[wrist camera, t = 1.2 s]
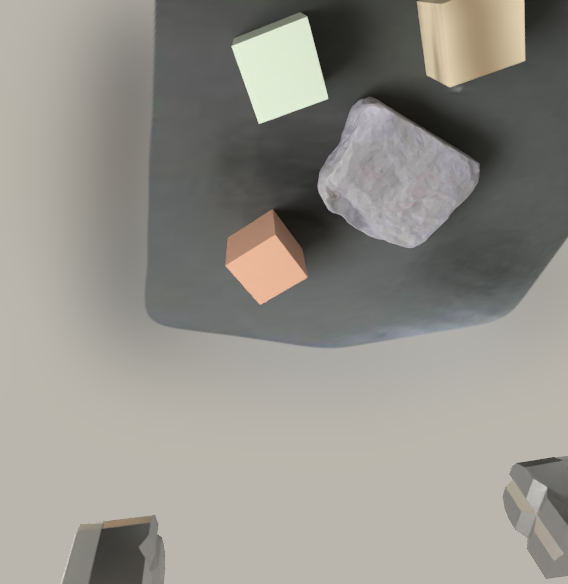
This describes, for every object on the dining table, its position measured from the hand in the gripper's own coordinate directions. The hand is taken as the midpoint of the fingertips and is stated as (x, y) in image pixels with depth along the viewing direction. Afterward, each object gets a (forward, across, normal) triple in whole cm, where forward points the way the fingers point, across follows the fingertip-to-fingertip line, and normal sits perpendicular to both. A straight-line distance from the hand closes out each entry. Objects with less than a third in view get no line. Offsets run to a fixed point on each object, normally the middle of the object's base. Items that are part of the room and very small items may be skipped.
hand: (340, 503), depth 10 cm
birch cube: (+30, -16, -10) cm, 35 cm away
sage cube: (+31, -3, -8) cm, 32 cm away
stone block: (+31, -12, +1) cm, 34 cm away
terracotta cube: (+32, -1, +7) cm, 33 cm away
